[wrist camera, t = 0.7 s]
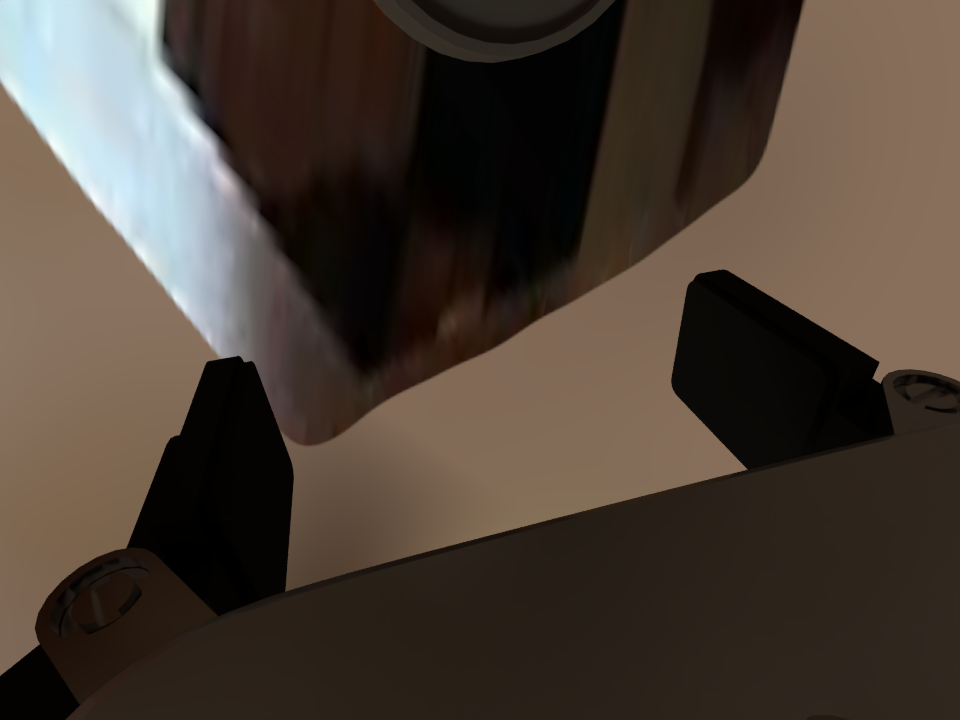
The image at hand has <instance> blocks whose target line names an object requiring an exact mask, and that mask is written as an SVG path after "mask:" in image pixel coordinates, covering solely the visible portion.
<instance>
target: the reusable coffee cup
mask: <svg viewBox="0 0 960 720" xmlns="http://www.w3.org/2000/svg"><path fill="white" fill-rule="evenodd" d="M373 1H374V2H375V4H376V5H377V6H378V7H379V8H380V10H381V11H382V12H383V13H384V14H385V15H386V16H387V17H388V18H390V19H391V20H392V21H393V22H394V23H395V24H397V25H398V26H399V27H400V28H401V29H402V30H404V31H405V32H406V33H407V34H408V35H410V36H411V37H412V38H413V39H415V40H417V41H419V42H421V43H422V44H424V45H426V46H428V47H430V48H431V49H433V50H435V51H437V52H439V53H442V54H445V55H448V56H452V57H455V58H458V59H462V60H465V61H475V62H491V63H495V62H501V61H506V60H512V59H518V58H522V57H525V56H529V55H532V54H535V53H539V52H542V51H544V50H546V49H549V48H551V47H553V46H556V45H558V44H560V43H563V42H565V41H568V40H569V39H571V38H572V37H573V36H575V35H576V34H578V33H579V32H581V31H582V30H583V29H585V28H586V27H588V26H589V25H591V24H592V23H593V22H594V21H595V20H596V19H597V18H598V17H599V16H600V15H601V14H602V13H603V12H604V11H605V10H606V9H607V8H608V7H609V6H610V5H611V4H612V3H613V2H614V1H615V0H373Z"/></svg>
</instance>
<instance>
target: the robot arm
mask: <svg viewBox="0 0 960 720" xmlns="http://www.w3.org/2000/svg"><path fill="white" fill-rule="evenodd" d="M878 365H879V361H877V360H875V359H873V358H872V357H870V356H869V355H867V354H865V353H864V352H862V351H860V350H859V349H857V348H855V347H854V346H852V345H850V344H849V343H847V342H845V341H844V340H842V339H840V338H838V337H837V336H835V335H833V334H832V333H830V332H829V331H827V330H825V329H824V328H822V327H820V326H819V325H817V324H815V323H814V322H812V321H810V320H809V319H807V318H805V317H804V316H802V315H800V314H799V313H797V312H795V311H794V310H792V309H790V308H789V307H787V306H786V305H784V304H782V303H780V302H779V301H777V300H775V299H774V298H772V297H771V296H769V295H767V294H766V293H764V292H762V291H761V290H759V289H757V288H756V287H754V286H752V285H750V284H749V283H747V282H746V281H744V280H742V279H741V278H739V277H737V276H736V275H734V274H732V273H731V272H729V271H727V270H717V271H712V272H706V273H700V274H698V275H697V276H696V277H695V278H694V280H693V281H692V282H690V284H689V285H688V287H687V292H686V297H685V303H684V309H683V315H682V321H681V326H680V332H679V338H678V344H677V349H676V356H675V361H674V367H673V373H672V378H671V382H672V388H673V390H674V392H675V394H676V395H677V396H678V397H679V398H680V399H681V400H682V401H683V402H684V403H685V404H686V405H687V407H688V408H689V409H690V410H691V411H692V412H693V413H694V414H695V415H696V416H697V417H698V418H699V419H700V420H701V421H702V422H703V423H704V424H705V425H706V426H707V427H708V429H710V431H711V432H713V434H714V435H715V436H716V437H717V438H718V439H719V440H720V441H721V442H722V443H723V444H724V445H725V446H726V447H727V448H728V449H729V450H730V452H731V453H733V455H734V456H735V457H736V458H737V459H738V460H739V461H740V462H741V463H742V464H743V465H744V466H745V467H746V468H747V469H748V470H745V471H741V472H737V473H733V474H729V475H725V476H721V477H717V478H713V479H709V480H705V481H701V482H697V483H693V484H689V485H685V486H681V487H677V488H673V489H669V490H665V491H661V492H657V493H654V494H649V495H646V496H641V497H638V498H634V499H630V500H626V501H622V502H618V503H614V504H610V505H606V506H602V507H598V508H594V509H591V510H587V511H583V512H579V513H575V514H571V515H567V516H563V517H559V518H555V519H552V520H547V521H544V522H540V523H536V524H532V525H528V526H525V527H521V528H517V529H513V530H509V531H505V532H501V533H497V534H494V535H490V536H486V537H482V538H478V539H474V540H471V541H467V542H463V543H459V544H455V545H452V546H447V547H444V548H440V549H436V550H432V551H428V552H425V553H421V554H417V555H413V556H409V557H406V558H402V559H398V560H395V561H391V562H387V563H383V564H380V565H376V566H373V567H369V568H366V569H361V570H358V571H354V572H350V573H347V574H344V575H340V576H336V577H333V578H329V579H326V580H322V581H319V582H316V583H312V584H309V585H306V586H302V587H299V588H296V589H293V590H290V591H286V592H285V587H286V574H287V561H288V547H289V535H290V521H291V507H292V495H293V481H294V474H293V467H292V463H291V459H290V457H289V454H288V451H287V449H286V446H285V443H284V441H283V438H282V435H281V433H280V430H279V427H278V425H277V422H276V419H275V417H274V414H273V411H272V409H271V406H270V403H269V401H268V398H267V395H266V393H265V390H264V387H263V385H262V382H261V379H260V377H259V374H258V371H257V369H256V366H255V364H254V363H253V362H252V361H250V362H244V361H243V360H242V358H241V357H240V356H236V357H230V358H224V359H219V360H213V361H208V362H207V363H206V365H205V368H204V370H203V373H202V376H201V379H200V381H199V384H198V387H197V389H196V392H195V395H194V398H193V400H192V403H191V406H190V409H189V412H188V414H187V417H186V420H185V422H184V425H183V428H182V431H181V433H180V435H178V436H174V437H173V438H171V439H170V440H169V442H168V443H167V445H166V448H165V450H164V453H163V455H162V458H161V461H160V463H159V466H158V468H157V471H156V473H155V476H154V479H153V481H152V484H151V487H150V489H149V492H148V494H147V497H146V499H145V502H144V504H143V507H142V510H141V512H140V515H139V517H138V520H137V523H136V525H135V528H134V530H133V533H132V535H131V538H130V541H129V543H128V546H127V548H126V549H120V550H115V551H112V552H109V553H107V554H104V555H102V556H99V557H96V558H95V559H93V560H91V561H89V562H88V563H86V564H85V565H83V566H81V567H79V568H78V569H76V570H75V571H74V572H73V573H71V574H70V575H69V576H68V577H66V578H65V579H64V580H63V581H62V582H61V583H60V584H59V585H58V586H57V587H56V588H55V589H54V590H53V592H52V593H51V594H50V595H49V596H48V597H47V599H46V601H45V603H44V604H43V606H42V608H41V609H40V611H39V613H38V616H37V621H36V625H35V631H36V635H37V638H38V641H39V643H40V645H38V646H37V647H36V648H35V649H33V650H32V651H31V652H30V653H28V654H27V655H26V656H25V657H23V658H22V659H21V660H20V661H18V662H17V663H16V664H15V665H13V666H12V667H11V668H10V669H8V670H7V671H6V672H5V673H3V674H2V675H1V676H0V720H960V382H959V381H957V380H955V379H952V378H949V377H946V376H943V375H940V374H936V373H932V372H927V371H921V370H910V369H909V370H897V371H894V372H890V373H888V374H887V375H886V376H885V377H884V378H883V380H882V382H881V384H880V383H878V382H877V381H875V380H874V379H872V378H873V376H874V374H875V371H876V369H877V367H878Z"/></svg>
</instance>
